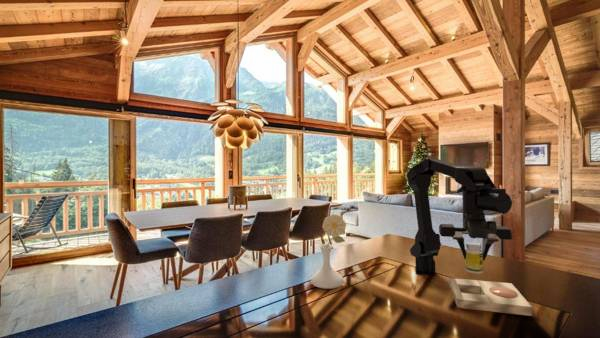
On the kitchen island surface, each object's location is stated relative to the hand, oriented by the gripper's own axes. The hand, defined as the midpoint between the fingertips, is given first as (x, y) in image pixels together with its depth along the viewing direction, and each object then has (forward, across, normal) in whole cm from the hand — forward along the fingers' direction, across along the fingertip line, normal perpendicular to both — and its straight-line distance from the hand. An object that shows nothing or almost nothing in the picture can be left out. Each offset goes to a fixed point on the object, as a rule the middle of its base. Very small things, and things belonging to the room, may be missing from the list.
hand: (474, 259), depth 92 cm
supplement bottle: (+4, 0, 0) cm, 4 cm away
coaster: (+9, +8, 0) cm, 12 cm away
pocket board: (+12, +3, 0) cm, 12 cm away
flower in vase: (+12, -45, -2) cm, 47 cm away
